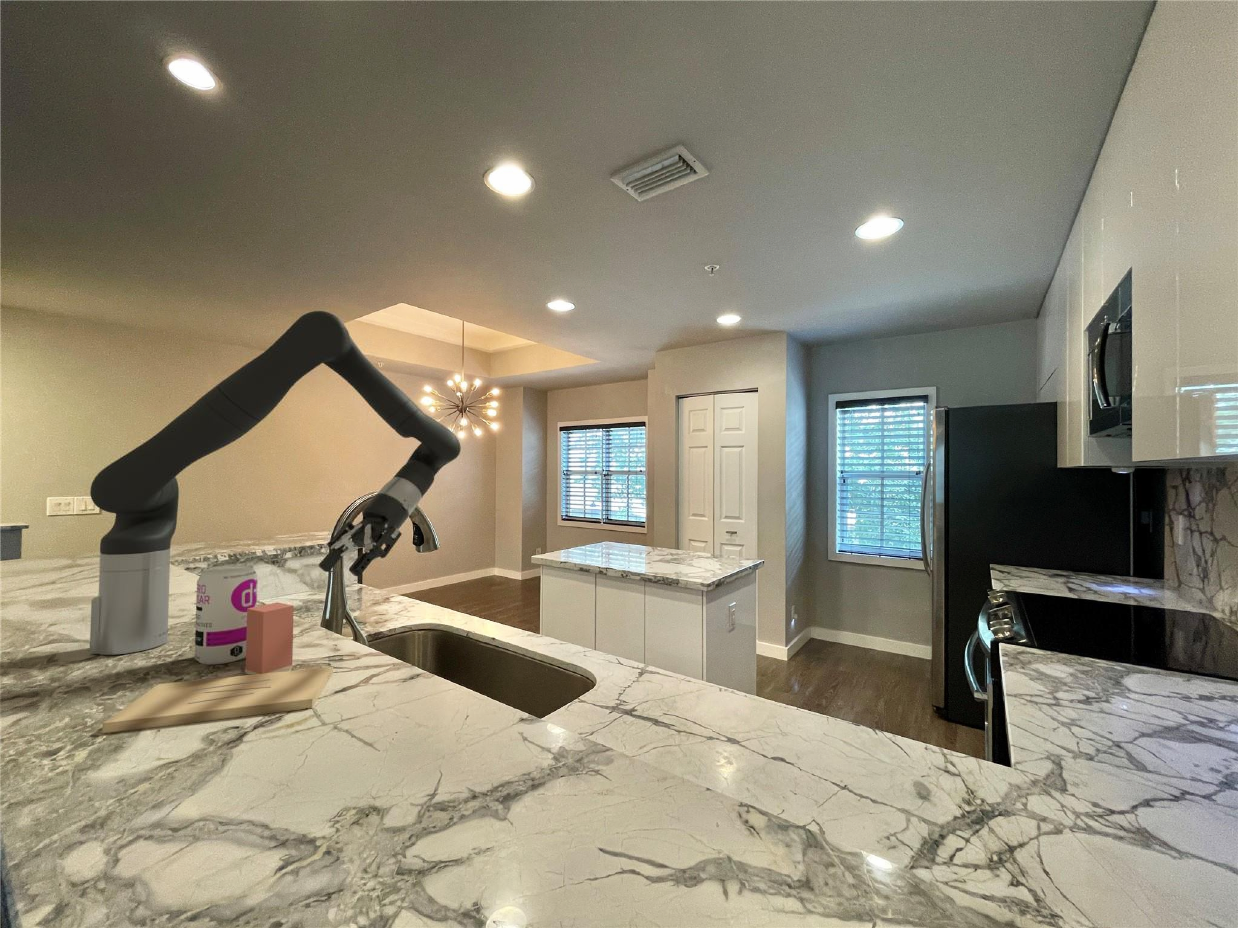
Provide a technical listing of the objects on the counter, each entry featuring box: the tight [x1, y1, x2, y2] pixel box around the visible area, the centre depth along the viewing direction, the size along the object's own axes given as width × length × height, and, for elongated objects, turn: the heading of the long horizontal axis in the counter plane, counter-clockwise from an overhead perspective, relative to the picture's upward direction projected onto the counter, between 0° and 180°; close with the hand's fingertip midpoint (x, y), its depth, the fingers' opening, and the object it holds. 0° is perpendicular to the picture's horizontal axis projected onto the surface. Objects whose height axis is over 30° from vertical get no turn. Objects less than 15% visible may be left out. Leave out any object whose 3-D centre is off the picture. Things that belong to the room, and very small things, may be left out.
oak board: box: [101, 666, 334, 734], centre depth 69 cm, size 22×12×1 cm, turn 108°
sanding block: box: [244, 602, 295, 675], centre depth 80 cm, size 5×5×10 cm
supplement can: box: [194, 564, 259, 666], centre depth 86 cm, size 8×8×15 cm
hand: (337, 571), depth 90 cm, fingers open, 8 cm apart
